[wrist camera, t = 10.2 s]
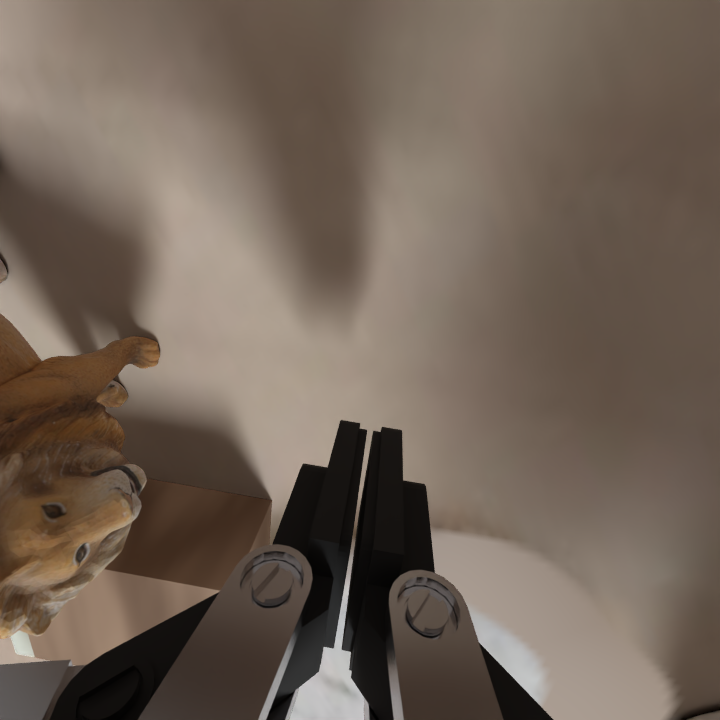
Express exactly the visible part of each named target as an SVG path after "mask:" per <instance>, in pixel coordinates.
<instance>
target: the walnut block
mask: <svg viewBox="0 0 720 720" xmlns="http://www.w3.org/2000/svg"><path fill="white" fill-rule="evenodd" d="M146 479H147V478H146ZM138 497H139V499H140V500H141V506H142V507H141V509H140V512H139V514H138V516H137V518H136V519H135V520H134V521H132V524H131V527H130V530H129V533H128V535H127V538H126V541H125V544H124V548H123V550H122V551H121V553H120V554H119V555H118V556H117V557H116V558H115V559H114V560H113V561H112V562H110V563H109V564H108V565H107V566H106V567H105V568H104V570H103V571H102V572H101V573H100V574H99V575H98V576H97V577H96V578H95V579H94V580H92V581H91V582H89V583H88V584H87V585H86V586H85V587H84V588H82V589H81V590H80V592H79V594H78V595H77V596H76V597H75V598H73V599H71V600H69V601H68V602H67V603H66V605H65V606H64V607H63V609H62V610H61V611H60V613H59V614H58V615H57V616H56V618H55V619H54V620H53V621H52V622H51V623H50V625H49V627H48V628H47V630H46V631H45V632H44V633H43V634H42V635H41V636H37V637H36V636H33V635H30V634H27V633H25V632H22V631H17V632H16V633H15V634H13V635H12V636H11V640H12V643H13V646H14V649H15V652H16V654H19V655H25V656H30V657H35V658H40V659H45V660H50V661H57V660H70V659H71V661H72V665H76V666H77V665H87V664H89V663H90V662H92V661H93V660H95V659H96V658H98V657H99V656H101V655H102V654H104V653H106V652H107V651H109V650H111V649H113V648H115V647H117V646H119V645H121V644H122V643H124V642H126V641H128V640H130V639H132V638H134V637H135V636H137V635H139V634H141V633H143V632H145V631H147V630H149V629H150V628H152V627H154V626H156V625H158V624H160V623H162V622H164V621H165V620H167V619H169V618H171V617H173V616H175V615H177V614H179V613H180V612H182V611H184V610H186V609H188V608H190V607H192V606H194V605H195V604H197V603H199V602H201V601H203V600H205V599H207V598H208V597H210V596H212V595H214V594H216V593H218V592H220V590H221V589H222V587H223V586H224V584H225V583H226V581H227V579H228V578H229V576H230V575H231V573H232V572H233V570H234V568H235V567H236V565H237V564H238V563H239V562H240V561H241V560H242V558H243V557H244V556H245V555H247V554H248V553H250V552H251V551H253V550H254V549H257V548H260V547H263V546H265V545H269V542H270V525H271V508H272V500H267V499H261V498H256V497H250V496H244V495H239V494H233V493H227V492H221V491H216V490H210V489H204V488H199V487H193V486H187V485H182V484H176V483H170V482H164V481H159V480H153V479H147V482H146V484H145V486H144V488H143V489H142V491H141V493H140V494H139V496H138Z"/></svg>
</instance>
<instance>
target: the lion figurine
mask: <svg viewBox="0 0 720 720" xmlns="http://www.w3.org/2000/svg"><path fill="white" fill-rule="evenodd" d="M6 278H7V270H6V267H5V266H4V264H3V262H2V261H1V260H0V283H1V282H3V281H4V280H5V279H6ZM159 357H160V352H159V345H158V343H157V342H155V341H154V340H151V339H148V338H145V337H137V336H132V337H127V338H124V339H122V340H116V341H113V342H111V343H110V344H108V345H107V346H106V347H105V348H103V349H100V350H98V351H95V352H91V353H87V354H81V355H77V356H57V357H51V358H48V359H46V360H44V361H41V359H40V358H39V357H38V355H37V354H36V352H35V351H34V350H33V348H32V347H31V346H30V345H29V343H28V342H27V341H26V340H25V338H24V337H23V336H22V335H21V334H20V332H19V331H18V330H17V329H16V328H15V327H14V326H13V324H12V323H11V322H10V321H8V320H7V319H6V318H5V317H4V316H3V315H2V314H0V639H5V638H8V637H11V636H12V635H13V634H15V633H16V632H17V631H22V632H25V633H27V634H30V635H33V636H36V637H37V636H41V635H42V634H43V633H44V632H45V631H46V630H47V628H48V627H49V625H50V623H51V622H52V621H53V620H54V619H55V618H56V616H57V615H58V614H59V613H60V611H61V610H62V609H63V607H64V606H65V605H66V603H67V602H68V601H69V600H71V599H73V598H75V597H76V596H77V595H78V594H79V592H80V590H81V589H82V588H84V587H85V586H86V585H87V584H88V583H89V582H91V581H92V580H94V579H95V578H96V577H97V576H98V575H99V574H100V573H101V572H102V571H103V570H104V568H105V567H106V566H107V565H108V564H109V563H110V562H112V561H113V560H114V559H115V558H116V557H117V556H118V555H119V554H120V553H121V551H122V550H123V548H124V544H125V541H126V538H127V535H128V533H129V530H130V527H131V524H132V521H134V520H135V519H136V518H137V516H138V514H139V512H140V509H141V507H142V506H141V500H140V499H139V497H138V496H139V494H140V493H141V491H142V489H143V488H144V486H145V484H146V482H147V479H146V475H145V473H144V471H143V470H142V469H141V468H140V467H139V466H137V465H134V464H129V462H128V460H127V458H125V457H124V456H123V455H122V454H121V453H120V452H121V449H122V446H123V442H124V440H125V435H124V432H123V430H122V428H121V426H120V425H119V423H118V422H117V420H116V419H115V418H114V417H112V416H111V415H110V414H108V413H106V412H105V409H106V408H105V406H107V407H120V406H121V405H122V404H123V403H124V402H125V401H126V400H127V398H128V394H127V392H126V390H125V389H124V388H123V387H122V386H121V385H120V384H119V383H118V382H116V381H113V379H114V378H115V377H116V376H117V375H118V374H119V372H120V371H121V370H122V369H123V367H124V366H125V365H128V364H133V365H135V366H137V367H139V368H148V367H153V366H155V365H157V364H158V360H159Z"/></svg>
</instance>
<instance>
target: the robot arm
mask: <svg viewBox="0 0 720 720" xmlns="http://www.w3.org/2000/svg"><path fill="white" fill-rule="evenodd" d="M359 428H360V423H355V422H349V421H343V420H341V421H340V424H339V428H338V431H337V435H336V439H335V442H334V446H333V450H332V454H331V457H330V461H329V465H328V468H327V467H321V466H315V465H309V464H303V465H302V467H301V469H300V472H299V474H298V477H297V480H296V482H295V485H294V488H293V491H292V493H291V496H290V499H289V501H288V504H287V507H286V509H285V512H284V515H283V517H282V520H281V523H280V525H279V528H278V531H277V533H276V536H275V539H274V542H273V544H272V545H265V546H263V547H260V548H257V549H254V550H253V551H251V552H250V553H248V554H247V555H245V556H244V557H243V558H242V560H241V561H240V562H239V563H238V564H237V565H236V567H235V568H234V570H233V572H232V573H231V575H230V576H229V578H228V579H227V581H226V583H225V584H224V586H223V587H222V589H221V590H220V592H218V593H216V594H214V595H212V596H210V597H208V598H207V599H205V600H203V601H201V602H199V603H197V604H195V605H194V606H192V607H190V608H188V609H186V610H184V611H182V612H180V613H179V614H177V615H175V616H173V617H171V618H169V619H167V620H165V621H164V622H162V623H160V624H158V625H156V626H154V627H152V628H150V629H149V630H147V631H145V632H143V633H141V634H139V635H137V636H135V637H134V638H132V639H130V640H128V641H126V642H124V643H122V644H121V645H119V646H117V647H115V648H113V649H111V650H109V651H107V652H106V653H104V654H102V655H101V656H99V657H98V658H96V659H95V660H93V661H92V662H90V663H89V664H87V665H77V666H73V665H72V661H71V659H70V660H57V661H43V662H30V663H17V664H3V665H0V720H289V719H290V716H291V713H292V710H293V707H294V704H295V701H296V698H297V695H298V690H299V687H300V686H301V685H303V684H304V683H305V682H306V681H308V680H309V679H310V678H311V677H313V676H314V675H315V674H316V673H318V672H319V668H320V665H321V659H322V653H323V647H329V648H334V643H335V637H336V631H337V625H338V620H339V614H340V608H341V602H342V596H343V590H344V584H345V578H346V573H347V567H348V561H349V555H350V549H351V542H352V535H353V528H354V521H355V514H356V507H357V499H358V492H359V485H360V478H361V471H362V463H363V456H364V449H365V442H366V435H367V430H365V429H359ZM342 650H345V651H350V652H351V658H350V668H349V670H352V674H351V678H352V680H353V681H354V683H355V684H356V686H357V687H358V689H359V690H360V692H361V693H362V695H363V696H364V698H365V699H364V720H553V719H552V718H551V717H550V716H549V715H548V714H547V713H546V712H545V711H544V710H543V708H542V707H541V706H540V705H539V704H538V703H537V702H536V701H535V700H534V699H533V698H532V697H531V696H530V695H529V694H528V693H527V692H526V691H525V690H524V689H523V688H522V687H521V686H520V685H519V684H518V683H517V682H516V680H515V679H514V678H513V677H512V676H511V675H510V674H509V673H508V672H507V671H506V670H505V669H504V668H503V667H502V666H501V665H500V664H499V663H498V662H497V661H496V660H495V659H494V658H493V657H492V656H491V655H490V654H489V652H488V651H487V650H486V649H485V648H484V647H483V646H482V645H481V644H480V643H479V642H478V638H477V635H476V632H475V629H474V626H473V623H472V620H471V617H470V613H469V610H468V607H467V605H466V603H465V601H464V599H463V597H462V595H461V594H460V592H459V591H458V590H457V589H456V588H455V586H454V585H453V584H451V583H450V582H449V581H448V580H446V579H445V578H444V577H442V576H440V575H438V574H436V573H435V570H434V560H433V550H432V540H431V530H430V521H429V511H428V501H427V491H426V486H425V484H421V483H415V482H409V481H403V456H402V430H398V429H392V428H386V427H382V429H381V432H377V431H373V436H372V441H371V447H370V453H369V459H368V464H367V470H366V476H365V482H364V488H363V493H362V499H361V505H360V511H359V518H358V525H357V533H356V541H355V549H354V557H353V564H352V572H351V580H350V588H349V596H348V604H347V611H346V619H345V627H344V635H343V643H342ZM687 720H720V711H715V712H711V713H707V714H703V715H699V716H695V717H693V718H690V719H687Z"/></svg>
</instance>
